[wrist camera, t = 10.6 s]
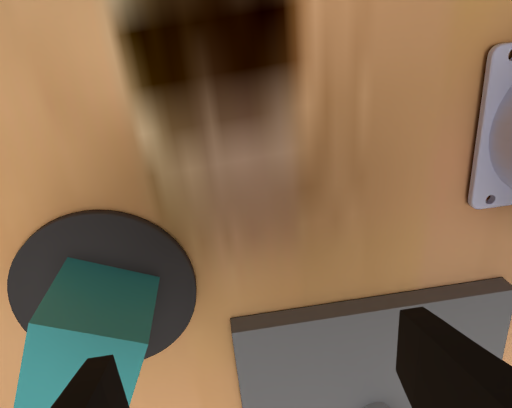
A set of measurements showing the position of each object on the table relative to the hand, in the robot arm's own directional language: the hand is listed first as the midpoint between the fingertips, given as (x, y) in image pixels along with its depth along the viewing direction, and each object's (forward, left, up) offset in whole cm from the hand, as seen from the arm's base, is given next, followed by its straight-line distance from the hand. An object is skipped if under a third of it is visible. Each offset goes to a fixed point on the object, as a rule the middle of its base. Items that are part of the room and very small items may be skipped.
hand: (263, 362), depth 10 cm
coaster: (+7, +4, -10) cm, 13 cm away
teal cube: (+7, +4, -10) cm, 13 cm away
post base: (-7, +15, -10) cm, 20 cm away
